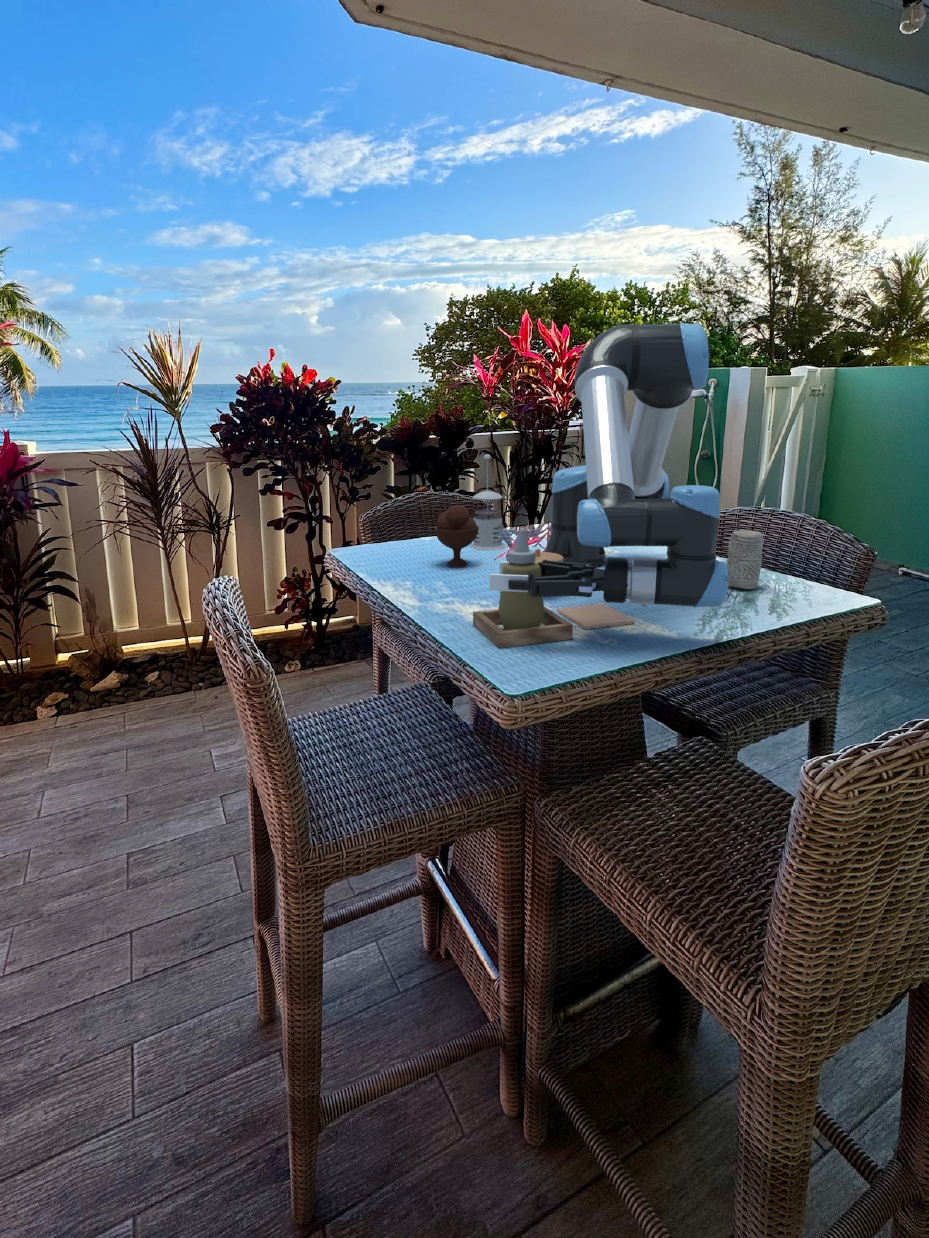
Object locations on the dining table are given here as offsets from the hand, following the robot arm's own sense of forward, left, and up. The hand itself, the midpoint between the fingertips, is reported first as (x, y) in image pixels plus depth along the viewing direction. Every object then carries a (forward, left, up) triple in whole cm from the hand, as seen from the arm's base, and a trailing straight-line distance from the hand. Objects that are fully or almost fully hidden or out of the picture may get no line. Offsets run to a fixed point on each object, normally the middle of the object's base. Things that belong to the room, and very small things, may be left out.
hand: (495, 575), depth 124 cm
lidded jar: (-17, -21, -10) cm, 29 cm away
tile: (-20, -1, -10) cm, 22 cm away
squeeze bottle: (-4, +2, -10) cm, 11 cm away
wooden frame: (-4, +2, -10) cm, 11 cm away
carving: (-59, -9, -10) cm, 60 cm away
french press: (-24, -71, -10) cm, 75 cm away
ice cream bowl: (-9, -52, -10) cm, 53 cm away
